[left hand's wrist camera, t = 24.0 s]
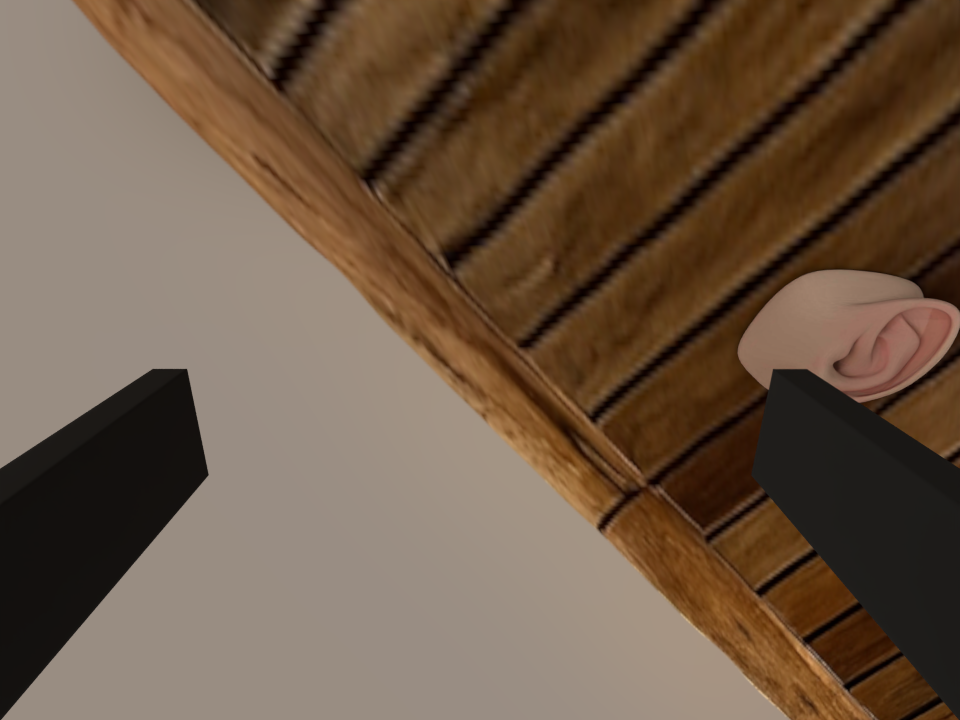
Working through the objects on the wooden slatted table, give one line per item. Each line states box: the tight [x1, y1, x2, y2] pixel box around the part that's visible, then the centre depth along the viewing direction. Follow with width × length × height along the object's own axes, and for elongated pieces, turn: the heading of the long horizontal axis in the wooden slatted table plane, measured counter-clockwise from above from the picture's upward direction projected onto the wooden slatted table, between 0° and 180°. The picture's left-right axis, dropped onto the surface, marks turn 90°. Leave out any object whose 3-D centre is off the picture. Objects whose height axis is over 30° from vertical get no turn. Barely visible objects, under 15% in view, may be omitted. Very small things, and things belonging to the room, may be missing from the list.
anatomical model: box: [738, 270, 960, 403], centre depth 41 cm, size 13×4×12 cm
